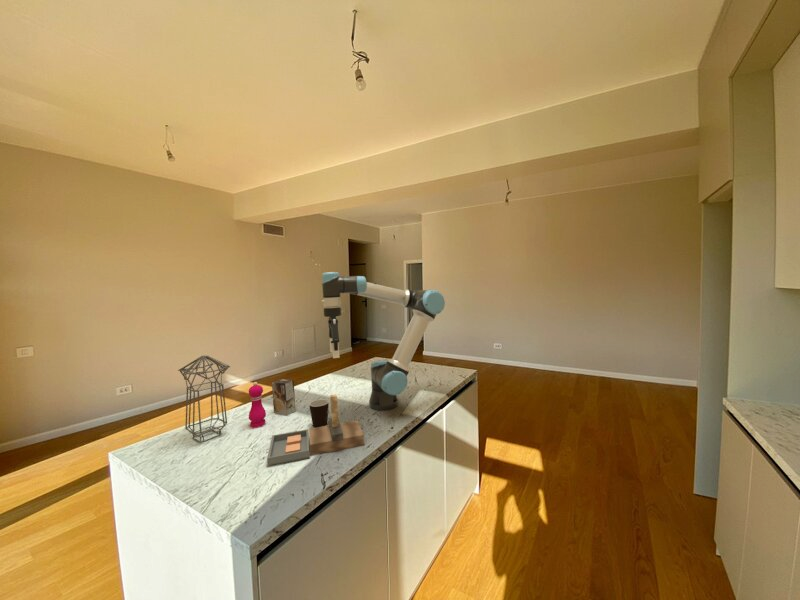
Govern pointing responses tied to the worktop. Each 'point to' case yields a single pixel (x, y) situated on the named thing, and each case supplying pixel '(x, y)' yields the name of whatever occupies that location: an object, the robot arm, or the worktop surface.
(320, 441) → the brown flat wooden block
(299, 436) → the tile
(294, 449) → the tile
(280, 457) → the tray
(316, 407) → the coffee mug
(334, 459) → the worktop surface
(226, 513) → the worktop surface
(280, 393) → the coffee box
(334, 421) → the scraper
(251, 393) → the pepper mill
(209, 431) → the geometric lantern
